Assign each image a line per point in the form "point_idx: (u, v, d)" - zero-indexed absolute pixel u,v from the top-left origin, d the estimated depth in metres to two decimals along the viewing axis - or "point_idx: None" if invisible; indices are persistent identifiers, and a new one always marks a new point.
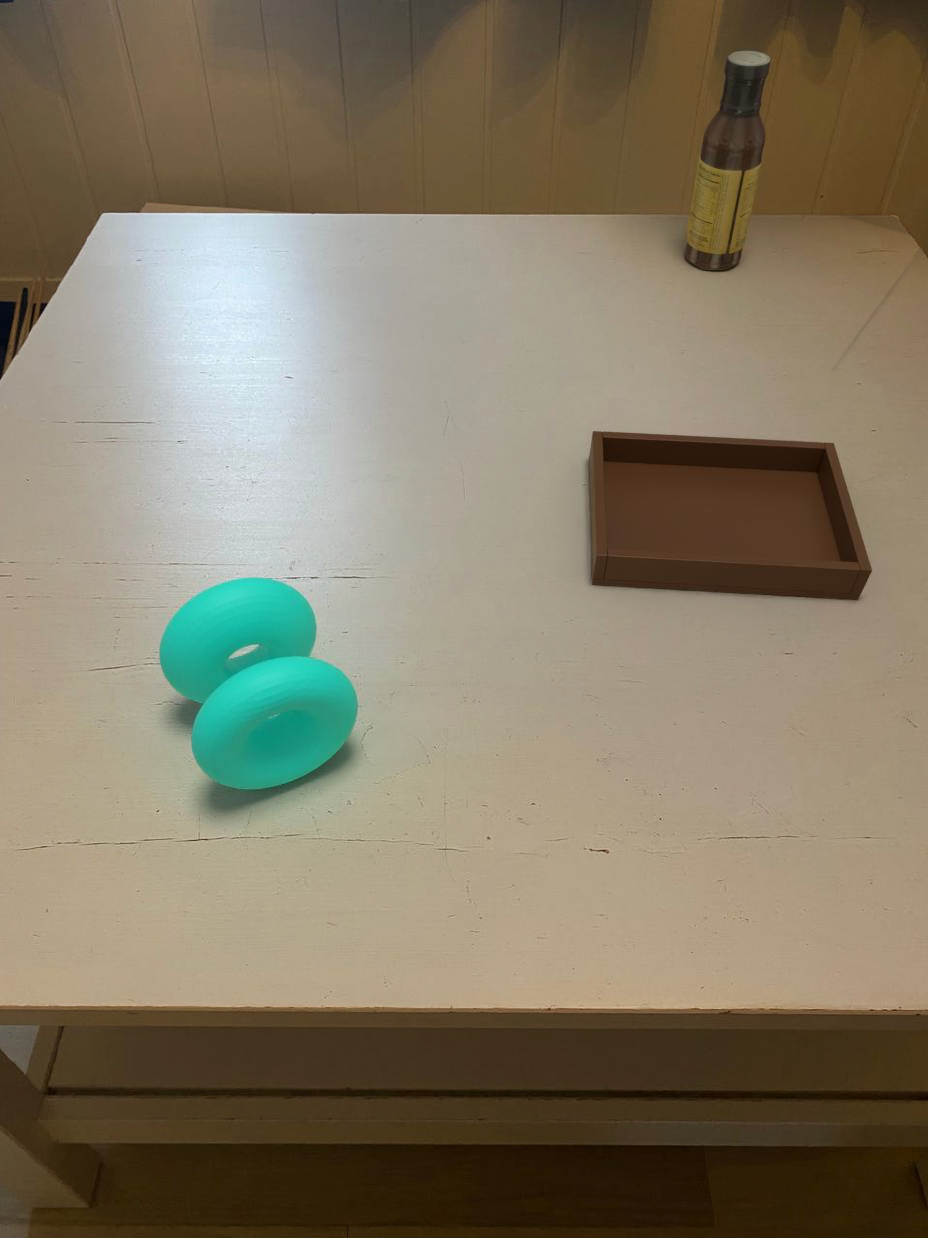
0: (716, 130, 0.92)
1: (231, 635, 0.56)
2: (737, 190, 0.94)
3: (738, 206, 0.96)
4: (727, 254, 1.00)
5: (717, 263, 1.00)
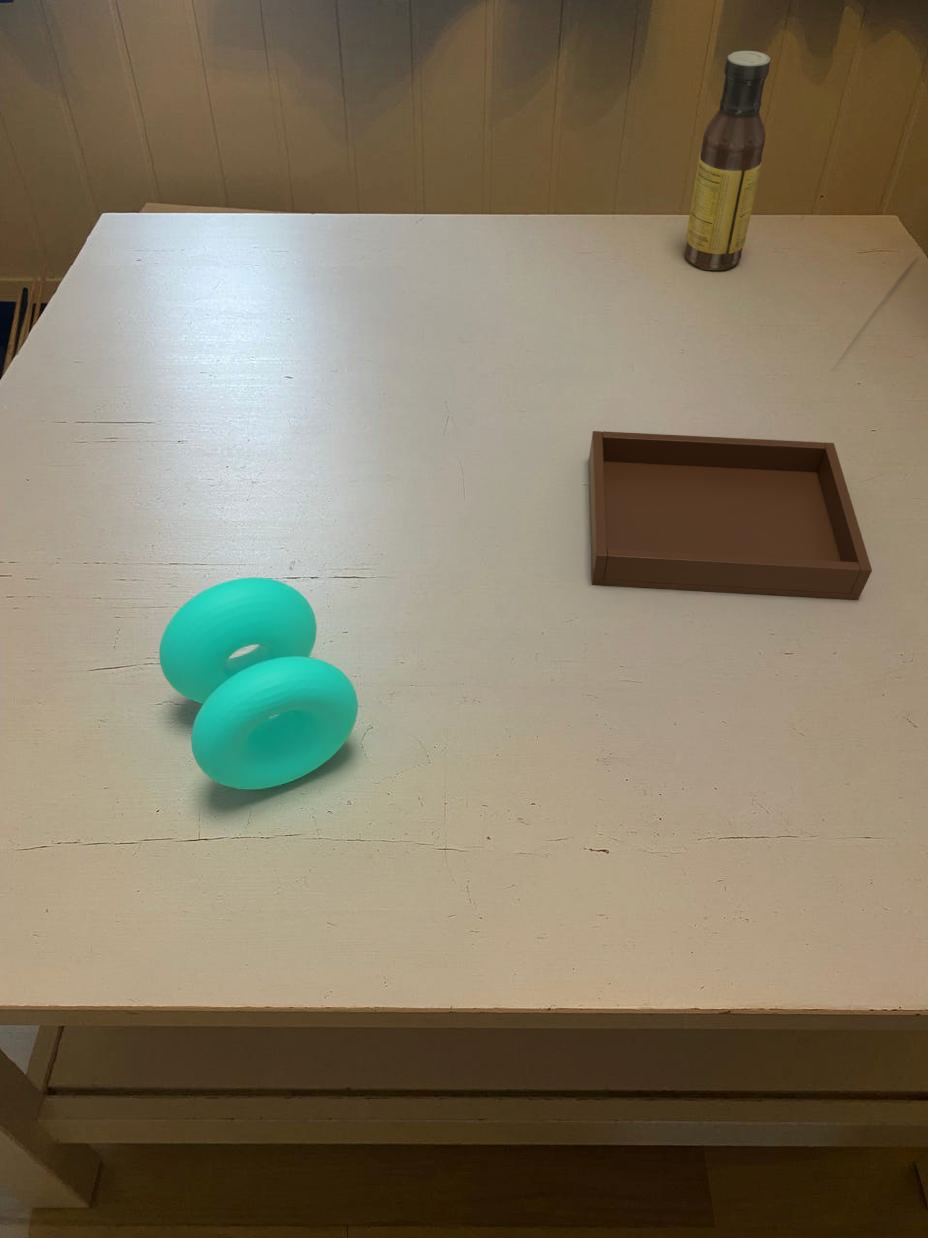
0: (716, 130, 0.92)
1: (231, 635, 0.56)
2: (737, 190, 0.94)
3: (738, 206, 0.96)
4: (727, 254, 1.00)
5: (717, 263, 1.00)
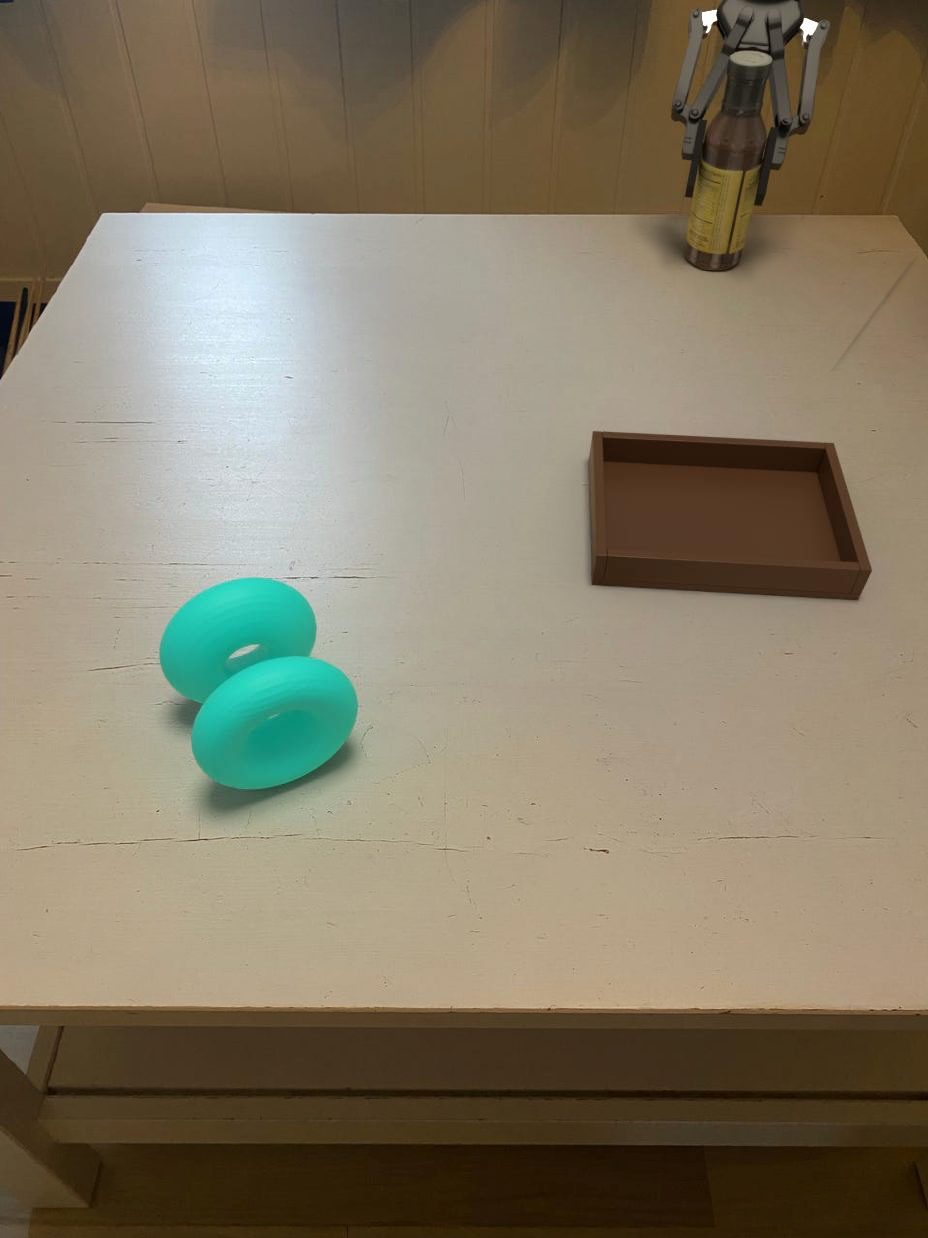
0: (717, 130, 0.92)
1: (231, 635, 0.56)
2: (738, 190, 0.94)
3: (739, 206, 0.96)
4: (728, 254, 1.00)
5: (717, 263, 1.00)
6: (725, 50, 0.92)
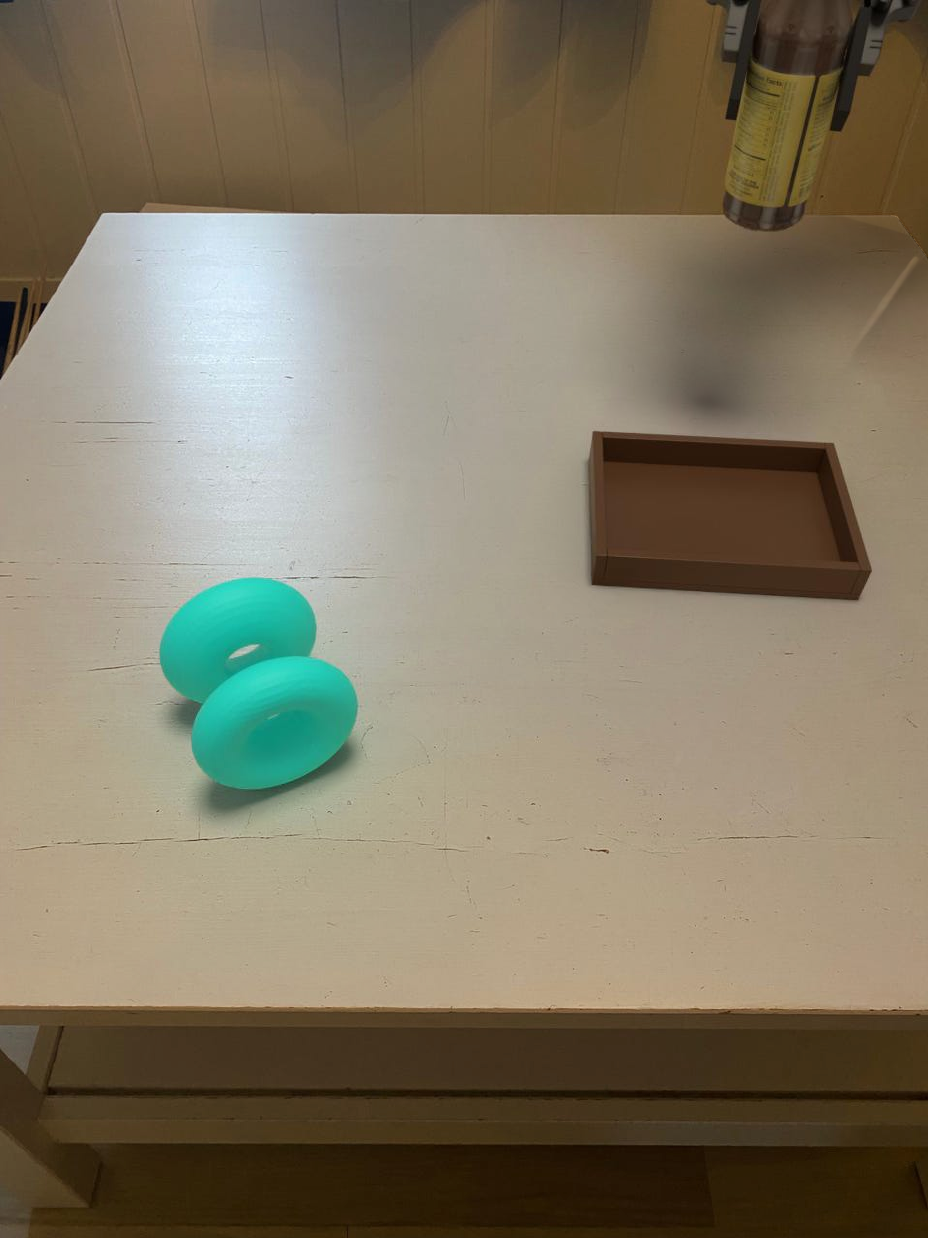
0: (779, 11, 0.60)
1: (231, 635, 0.56)
2: (807, 107, 0.62)
3: (806, 133, 0.64)
4: (786, 207, 0.68)
5: (770, 221, 0.68)
6: None
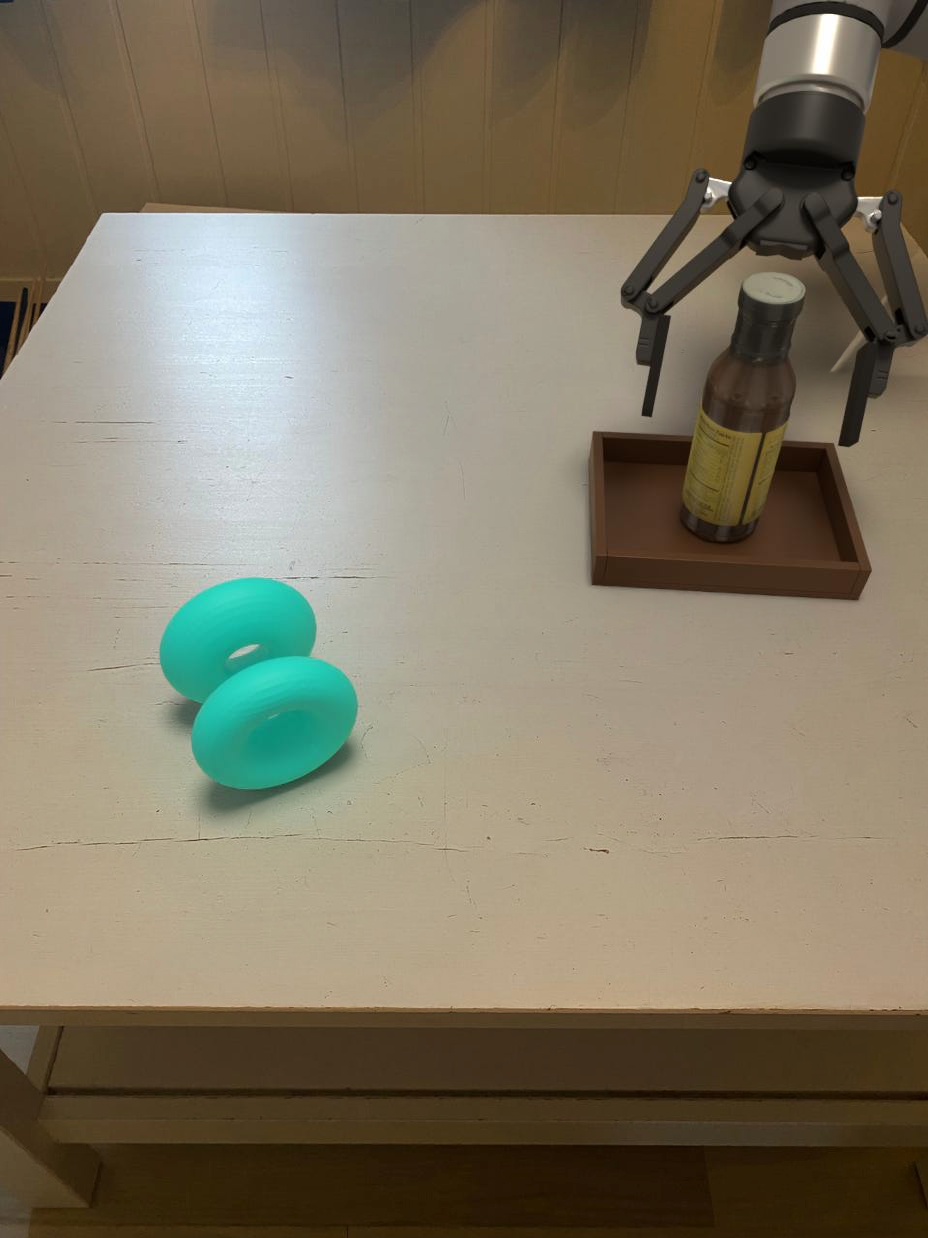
0: (725, 379, 0.63)
1: (231, 635, 0.56)
2: (755, 455, 0.66)
3: (756, 473, 0.67)
4: (740, 525, 0.71)
5: (725, 535, 0.72)
6: (725, 236, 0.63)
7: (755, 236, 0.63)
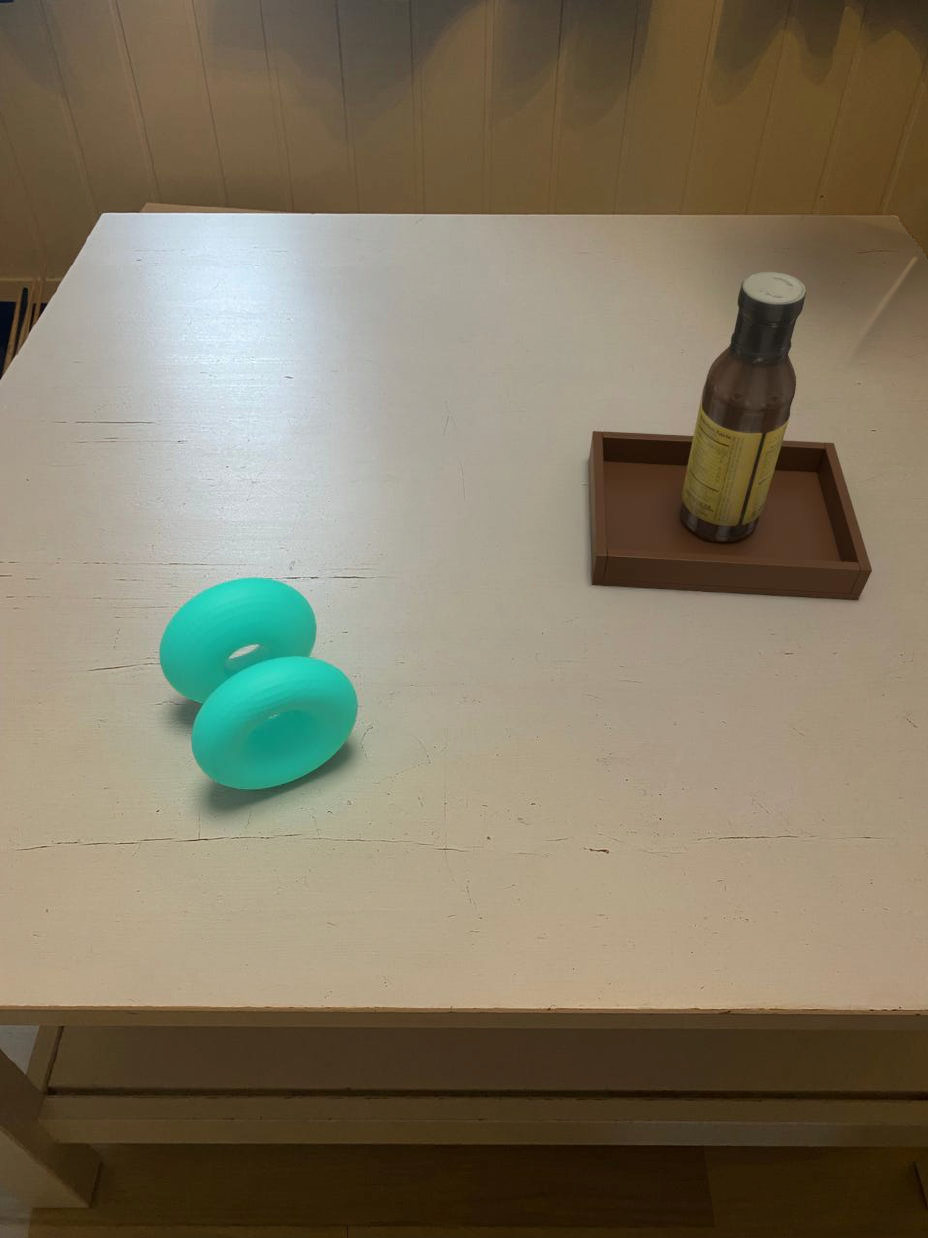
0: (725, 379, 0.63)
1: (231, 635, 0.56)
2: (755, 455, 0.66)
3: (756, 473, 0.67)
4: (740, 525, 0.71)
5: (725, 535, 0.72)
6: None
7: None
